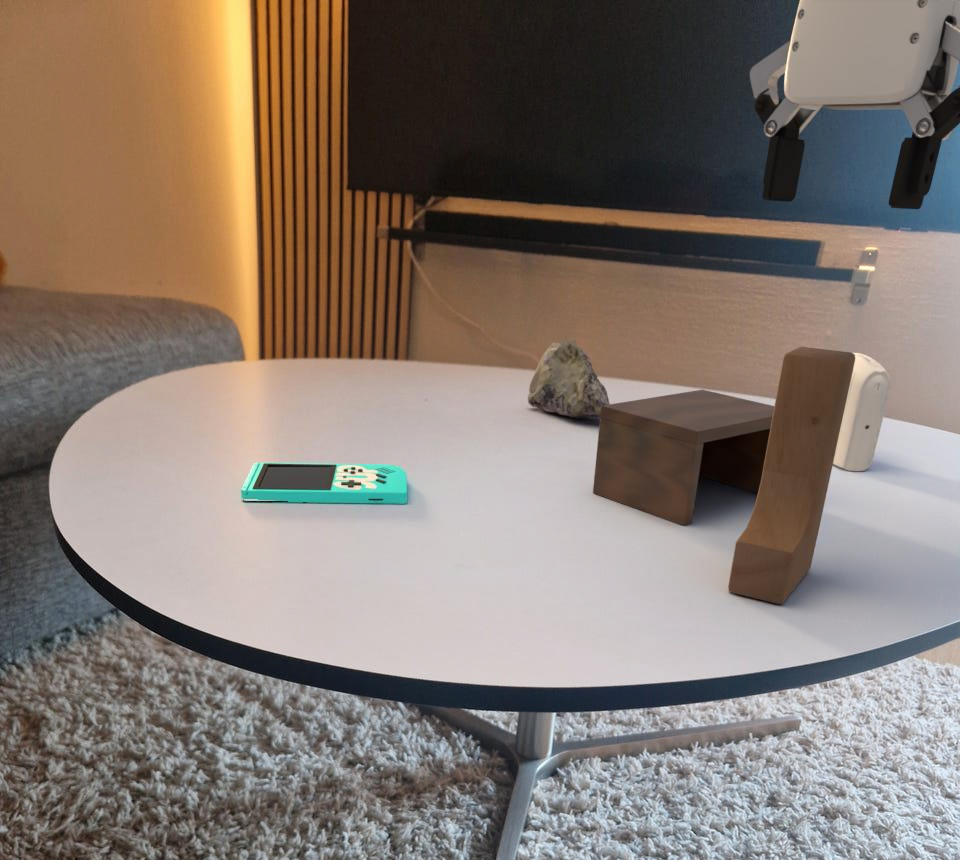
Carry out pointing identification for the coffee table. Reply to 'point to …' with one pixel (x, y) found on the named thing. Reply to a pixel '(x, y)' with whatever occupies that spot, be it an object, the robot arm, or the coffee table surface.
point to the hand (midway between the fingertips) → (838, 204)
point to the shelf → (679, 449)
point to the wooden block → (793, 475)
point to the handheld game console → (326, 483)
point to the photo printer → (862, 414)
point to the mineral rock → (567, 383)
